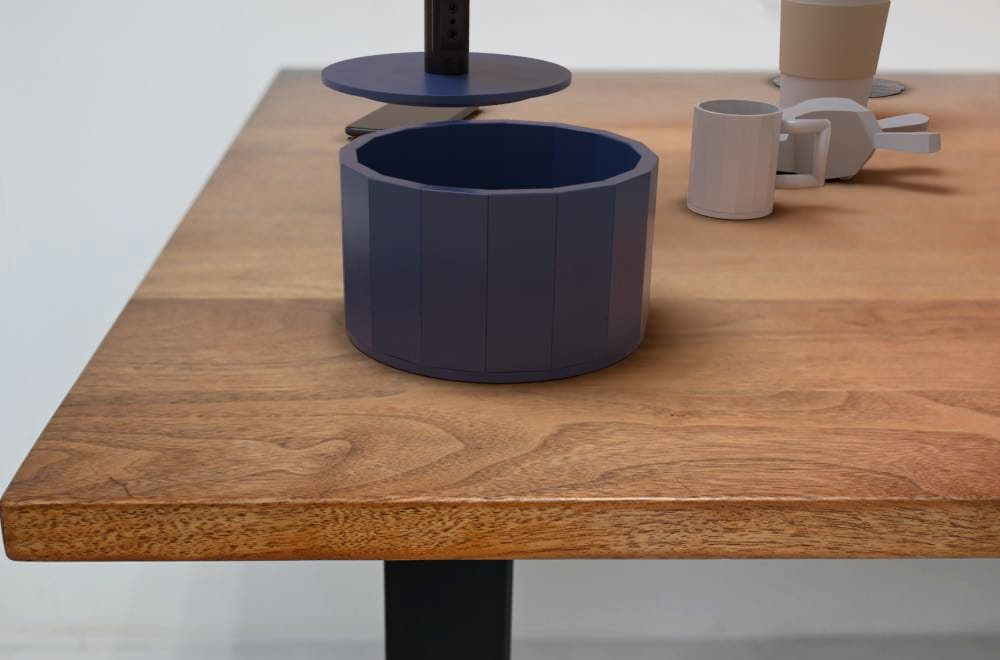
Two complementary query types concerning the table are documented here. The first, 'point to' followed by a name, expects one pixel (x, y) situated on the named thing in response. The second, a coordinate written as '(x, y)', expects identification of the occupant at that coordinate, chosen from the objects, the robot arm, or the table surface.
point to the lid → (445, 77)
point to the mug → (746, 157)
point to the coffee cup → (829, 48)
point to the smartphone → (404, 117)
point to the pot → (497, 248)
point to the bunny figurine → (851, 137)
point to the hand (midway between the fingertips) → (447, 51)
